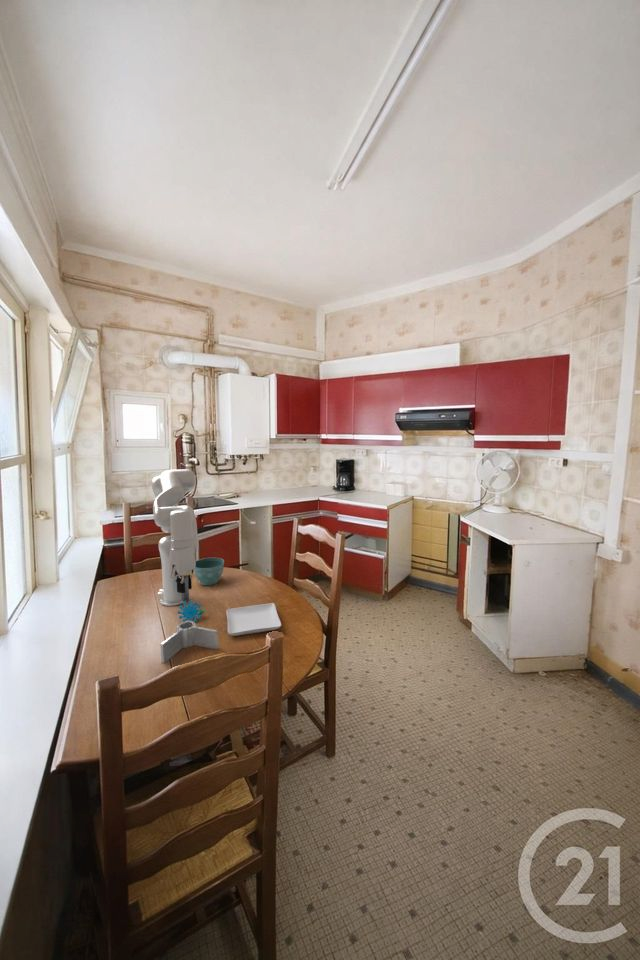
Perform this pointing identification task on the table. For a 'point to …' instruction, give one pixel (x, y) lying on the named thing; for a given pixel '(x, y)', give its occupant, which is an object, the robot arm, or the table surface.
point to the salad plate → (252, 619)
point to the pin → (186, 587)
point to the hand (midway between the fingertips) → (184, 590)
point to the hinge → (188, 639)
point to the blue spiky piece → (190, 611)
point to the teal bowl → (209, 570)
